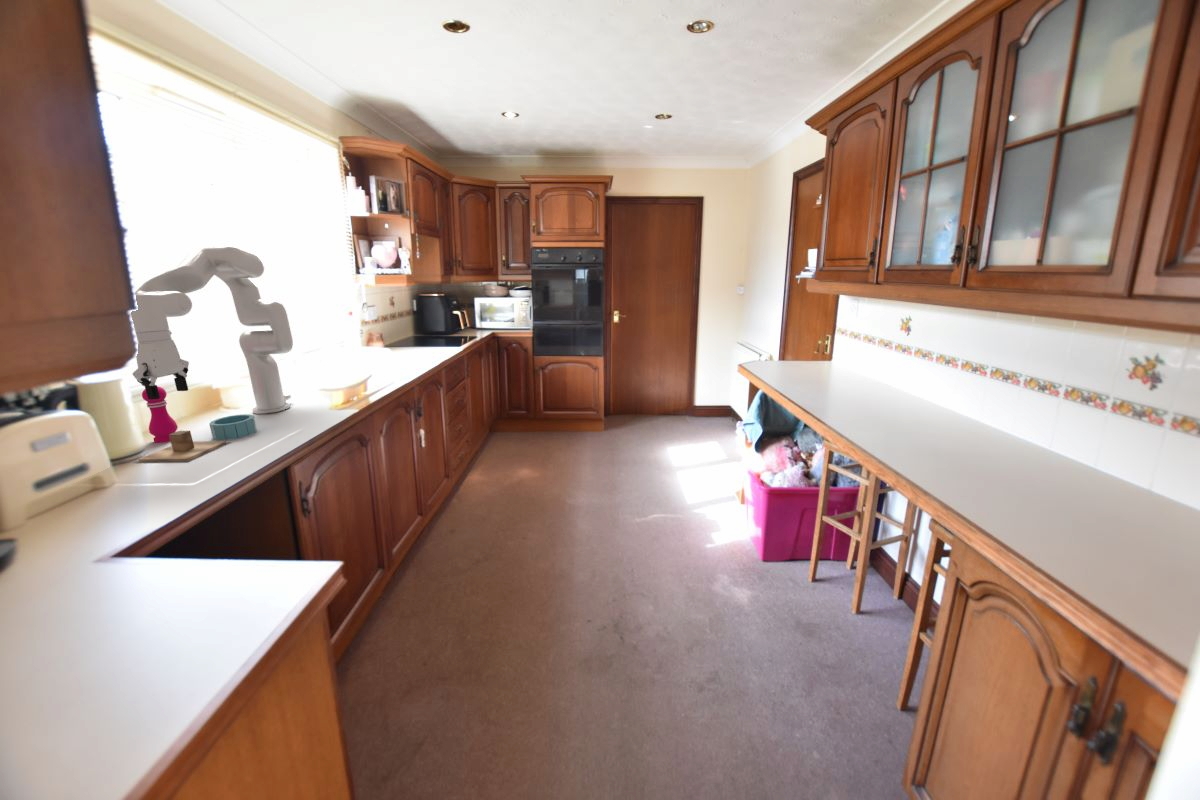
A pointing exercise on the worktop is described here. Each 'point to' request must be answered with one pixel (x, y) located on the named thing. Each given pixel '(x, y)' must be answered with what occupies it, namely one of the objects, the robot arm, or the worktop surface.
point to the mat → (186, 461)
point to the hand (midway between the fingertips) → (169, 394)
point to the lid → (182, 448)
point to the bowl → (233, 427)
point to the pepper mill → (160, 417)
